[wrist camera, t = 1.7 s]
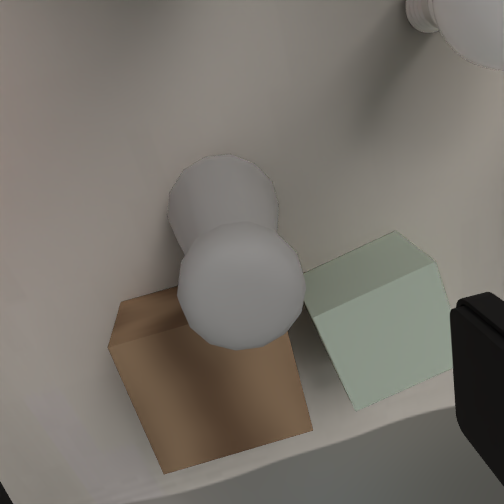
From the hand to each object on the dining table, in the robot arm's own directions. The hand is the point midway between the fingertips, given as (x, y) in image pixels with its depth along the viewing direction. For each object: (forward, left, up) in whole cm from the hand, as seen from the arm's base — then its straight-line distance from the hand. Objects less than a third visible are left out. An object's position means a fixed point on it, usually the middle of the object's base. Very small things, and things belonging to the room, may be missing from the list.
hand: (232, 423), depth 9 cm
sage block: (-8, +10, -19) cm, 22 cm away
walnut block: (+2, +10, -19) cm, 21 cm away
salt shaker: (-1, +1, -19) cm, 19 cm away
